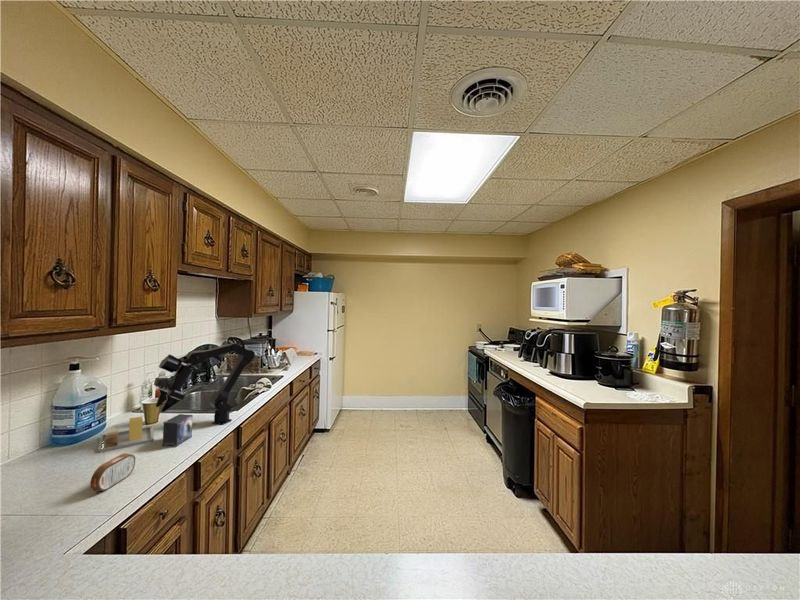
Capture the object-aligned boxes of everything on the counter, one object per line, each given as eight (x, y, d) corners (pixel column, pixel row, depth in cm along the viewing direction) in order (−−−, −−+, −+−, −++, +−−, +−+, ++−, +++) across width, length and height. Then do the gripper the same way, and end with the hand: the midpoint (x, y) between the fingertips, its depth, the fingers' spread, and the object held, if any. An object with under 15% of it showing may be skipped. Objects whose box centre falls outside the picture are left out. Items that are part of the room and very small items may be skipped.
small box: (176, 447, 141) (177, 422, 141) (161, 447, 141) (162, 422, 141) (193, 437, 152) (193, 414, 151) (178, 436, 152) (179, 413, 152)
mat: (177, 420, 170) (177, 420, 170) (196, 423, 167) (196, 423, 167) (154, 429, 159) (154, 429, 159) (173, 433, 155) (174, 432, 155)
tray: (151, 429, 159) (151, 426, 159) (153, 442, 145) (153, 439, 145) (101, 438, 148) (101, 435, 148) (97, 453, 134) (97, 450, 134)
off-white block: (118, 437, 149) (118, 428, 149) (117, 440, 146) (117, 431, 146) (106, 439, 147) (106, 430, 147) (106, 442, 143) (106, 433, 143)
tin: (128, 472, 121) (129, 448, 121) (137, 472, 121) (137, 449, 121) (88, 496, 106) (89, 469, 106) (98, 496, 106) (99, 470, 106)
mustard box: (141, 435, 152) (142, 416, 152) (142, 438, 148) (142, 419, 148) (129, 437, 149) (129, 418, 149) (129, 441, 145) (129, 421, 145)
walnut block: (117, 442, 144) (117, 433, 144) (117, 446, 140) (117, 436, 140) (105, 445, 141) (106, 435, 141) (105, 448, 138) (105, 438, 138)
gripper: (158, 366, 157) (135, 398, 151) (170, 373, 145) (145, 408, 139) (181, 375, 164) (160, 406, 158) (194, 382, 152) (172, 416, 146)
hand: (159, 409), depth 150 cm, fingers open, 9 cm apart
